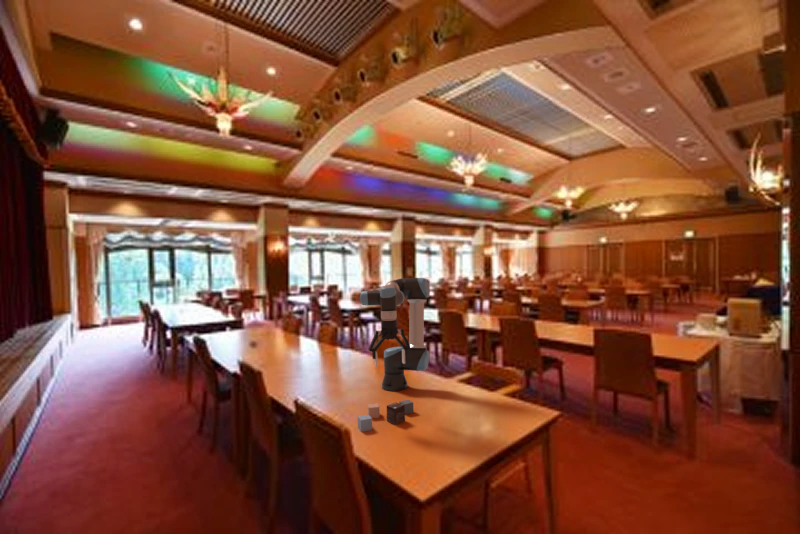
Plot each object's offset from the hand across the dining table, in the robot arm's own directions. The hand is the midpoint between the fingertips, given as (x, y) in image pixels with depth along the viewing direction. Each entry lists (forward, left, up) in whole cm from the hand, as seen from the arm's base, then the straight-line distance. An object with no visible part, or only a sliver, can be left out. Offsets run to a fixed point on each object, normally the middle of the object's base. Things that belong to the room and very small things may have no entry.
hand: (390, 364), depth 180 cm
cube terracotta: (-3, -8, -24) cm, 26 cm away
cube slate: (+10, -15, -24) cm, 30 cm away
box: (+7, 0, -24) cm, 25 cm away
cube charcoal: (-2, +8, -24) cm, 26 cm away
